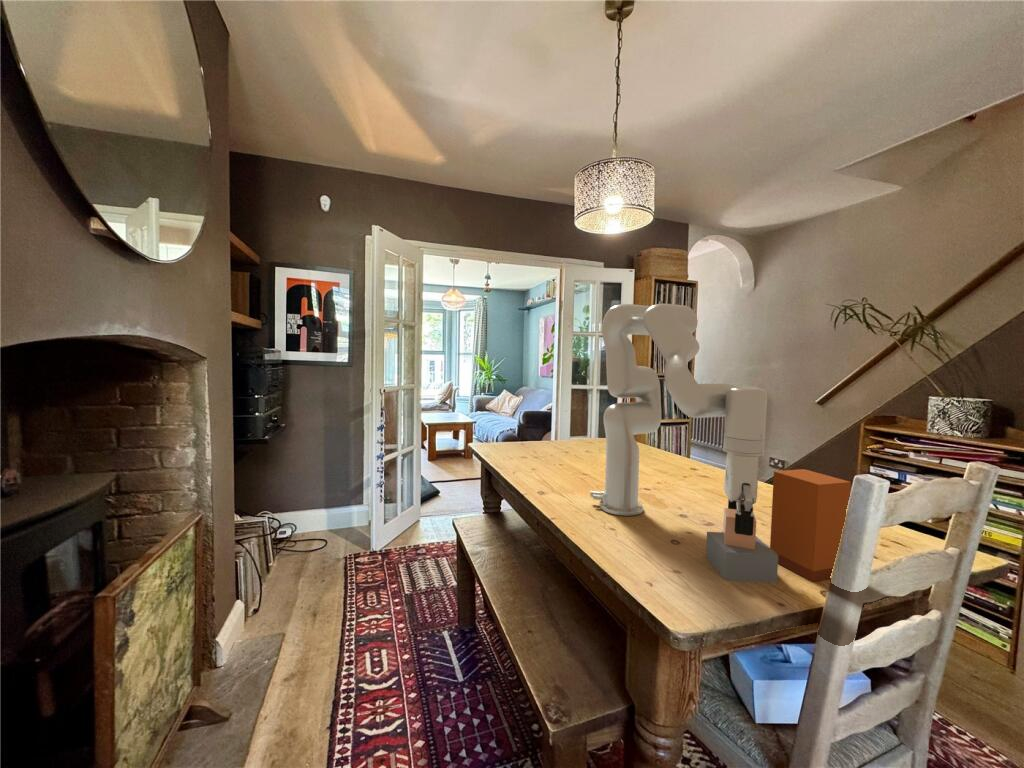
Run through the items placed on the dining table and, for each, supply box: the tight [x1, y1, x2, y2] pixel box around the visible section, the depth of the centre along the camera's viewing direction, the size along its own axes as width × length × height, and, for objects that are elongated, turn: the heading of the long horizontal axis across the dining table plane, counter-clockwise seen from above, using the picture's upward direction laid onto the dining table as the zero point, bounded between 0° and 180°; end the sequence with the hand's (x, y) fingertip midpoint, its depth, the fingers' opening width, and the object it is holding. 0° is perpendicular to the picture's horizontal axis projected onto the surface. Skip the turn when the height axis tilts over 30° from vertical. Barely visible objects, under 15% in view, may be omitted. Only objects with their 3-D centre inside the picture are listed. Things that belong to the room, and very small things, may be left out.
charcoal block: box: [705, 531, 779, 584], centre depth 87 cm, size 10×10×6 cm
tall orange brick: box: [769, 468, 852, 582], centre depth 88 cm, size 10×9×20 cm
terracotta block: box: [722, 507, 757, 550], centre depth 87 cm, size 6×6×6 cm
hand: (739, 525), depth 87 cm, fingers open, 9 cm apart
